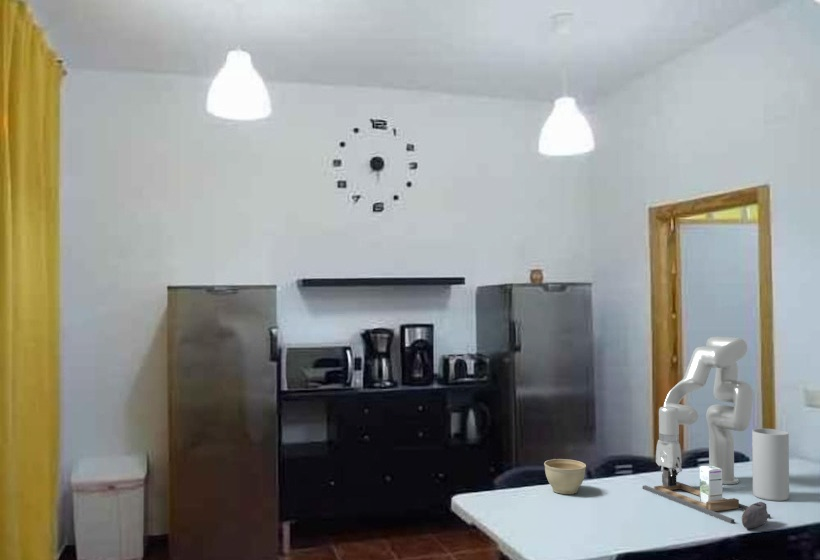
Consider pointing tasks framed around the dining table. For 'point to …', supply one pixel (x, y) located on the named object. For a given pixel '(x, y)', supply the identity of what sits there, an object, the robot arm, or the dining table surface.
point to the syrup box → (710, 484)
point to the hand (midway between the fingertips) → (669, 483)
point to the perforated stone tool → (755, 515)
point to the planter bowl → (565, 475)
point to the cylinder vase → (770, 464)
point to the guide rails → (694, 504)
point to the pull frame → (710, 505)
